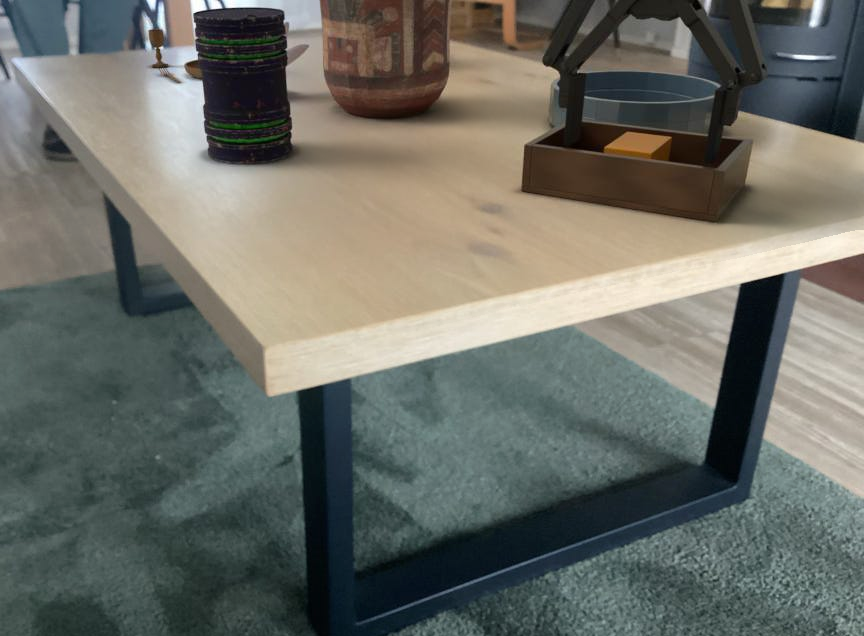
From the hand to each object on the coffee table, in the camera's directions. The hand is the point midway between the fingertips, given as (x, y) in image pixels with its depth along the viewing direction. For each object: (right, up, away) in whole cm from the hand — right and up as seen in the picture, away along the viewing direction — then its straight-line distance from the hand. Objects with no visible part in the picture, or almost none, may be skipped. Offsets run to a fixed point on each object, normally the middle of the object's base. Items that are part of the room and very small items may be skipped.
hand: (638, 150), depth 84 cm
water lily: (-42, +18, +42) cm, 62 cm away
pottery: (-24, +14, +35) cm, 44 cm away
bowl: (+6, +9, +24) cm, 27 cm away
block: (0, -3, +2) cm, 3 cm away
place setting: (-54, +28, +62) cm, 87 cm away
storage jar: (-40, +3, +15) cm, 43 cm away
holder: (0, -3, +2) cm, 4 cm away
